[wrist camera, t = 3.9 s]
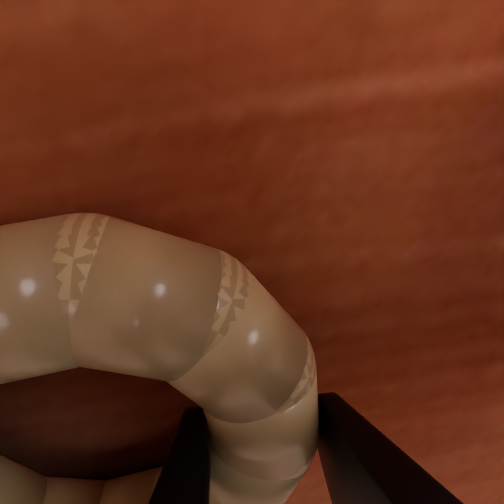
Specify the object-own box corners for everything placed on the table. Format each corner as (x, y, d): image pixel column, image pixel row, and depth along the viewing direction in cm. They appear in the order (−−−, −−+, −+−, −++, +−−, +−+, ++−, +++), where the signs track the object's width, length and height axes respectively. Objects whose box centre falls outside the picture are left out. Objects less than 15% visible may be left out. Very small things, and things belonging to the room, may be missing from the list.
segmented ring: (364, 276, 8) (428, 344, 6) (220, 521, 11) (230, 622, 9) (-141, 114, 5) (-348, 140, 3) (-152, 507, 8) (-262, 653, 6)
